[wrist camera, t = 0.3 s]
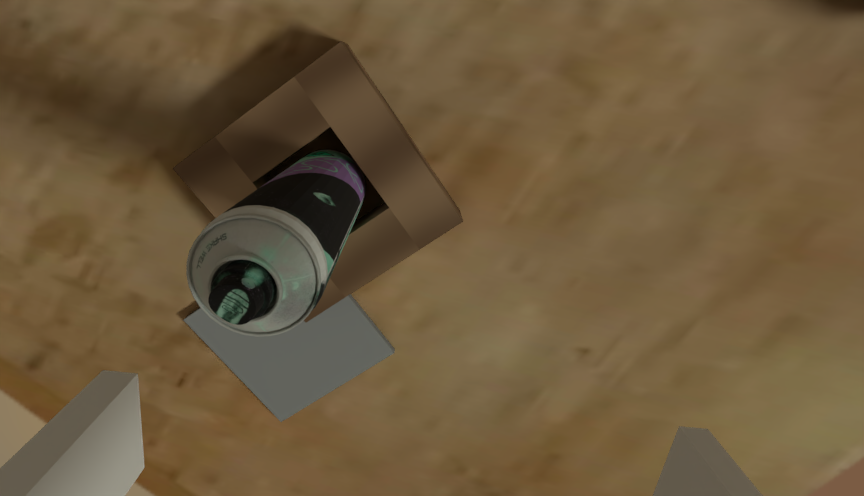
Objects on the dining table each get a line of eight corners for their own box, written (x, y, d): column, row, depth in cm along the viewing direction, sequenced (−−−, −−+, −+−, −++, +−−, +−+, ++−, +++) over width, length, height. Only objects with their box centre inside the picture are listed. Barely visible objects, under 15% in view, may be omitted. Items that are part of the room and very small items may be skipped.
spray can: (368, 152, 35) (311, 238, 16) (364, 224, 37) (308, 377, 18) (292, 145, 35) (144, 224, 16) (291, 218, 37) (158, 366, 18)
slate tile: (186, 316, 39) (183, 319, 39) (303, 236, 37) (302, 238, 37) (282, 417, 43) (281, 421, 42) (394, 349, 41) (394, 352, 40)
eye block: (192, 160, 35) (172, 168, 32) (347, 44, 33) (340, 41, 30) (313, 305, 39) (305, 322, 36) (459, 210, 37) (463, 221, 34)
